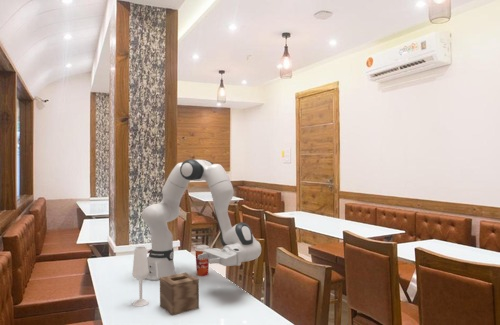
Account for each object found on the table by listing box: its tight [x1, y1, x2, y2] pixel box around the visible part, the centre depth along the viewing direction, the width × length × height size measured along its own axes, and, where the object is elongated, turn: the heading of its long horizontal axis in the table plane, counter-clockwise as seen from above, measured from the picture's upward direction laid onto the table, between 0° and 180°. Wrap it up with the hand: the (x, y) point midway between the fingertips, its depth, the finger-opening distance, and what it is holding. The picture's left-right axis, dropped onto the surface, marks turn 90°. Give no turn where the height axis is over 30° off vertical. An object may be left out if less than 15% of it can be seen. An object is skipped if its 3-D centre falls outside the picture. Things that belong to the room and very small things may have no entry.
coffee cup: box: [194, 244, 211, 277], centre depth 203 cm, size 8×8×15 cm
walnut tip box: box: [159, 272, 200, 316], centre depth 157 cm, size 12×12×12 cm
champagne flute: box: [132, 245, 150, 307], centre depth 162 cm, size 7×7×24 cm
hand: (203, 259), depth 164 cm, fingers open, 8 cm apart
